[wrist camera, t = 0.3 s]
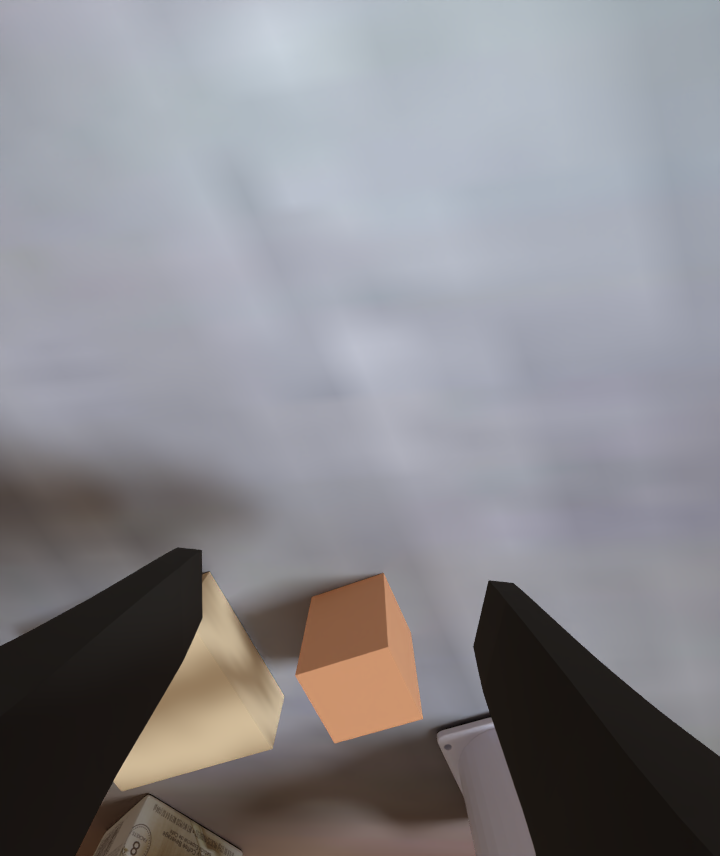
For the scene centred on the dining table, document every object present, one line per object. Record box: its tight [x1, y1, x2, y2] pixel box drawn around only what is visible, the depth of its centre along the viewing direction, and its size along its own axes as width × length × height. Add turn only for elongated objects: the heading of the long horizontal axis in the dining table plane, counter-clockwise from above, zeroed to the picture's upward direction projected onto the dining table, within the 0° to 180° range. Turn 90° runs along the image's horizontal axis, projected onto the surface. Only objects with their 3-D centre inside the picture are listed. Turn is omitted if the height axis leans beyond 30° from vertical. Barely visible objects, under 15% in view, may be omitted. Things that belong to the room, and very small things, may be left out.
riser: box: [114, 572, 284, 791], centre depth 21 cm, size 10×10×3 cm
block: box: [295, 573, 423, 743], centre depth 19 cm, size 4×4×5 cm
